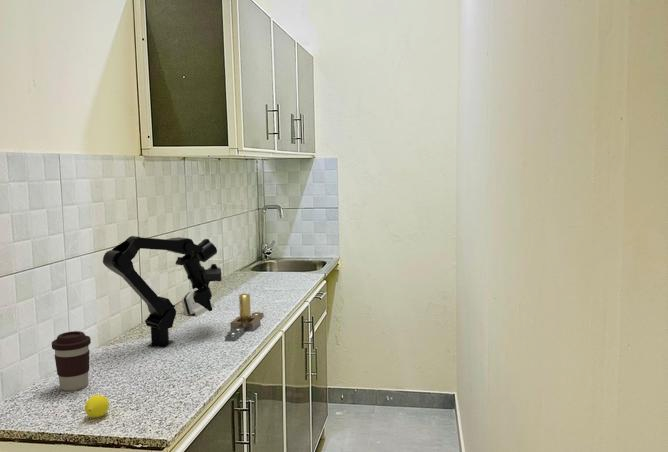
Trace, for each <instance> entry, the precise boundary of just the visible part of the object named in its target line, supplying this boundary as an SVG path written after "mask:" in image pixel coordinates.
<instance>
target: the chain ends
mask: <svg viewBox="0 0 668 452" xmlns="http://www.w3.org/2000/svg"><path fill="white" fill-rule="evenodd" d="M264 314H265V313H264V312H261V311H258V312H257V311H256V312H255V311H254V312H252V313H251V322H240V316H237V317H236V318H234V319H233V320H231V322H230V330H229V331H228V332H227V333H226V335H225V336H224V341H225V342H226V341H229V342H235V341H237V340H238V339H240V337H241V336H243V335H244V334H245V333H246V332H255V331H256V330H257V329H258V328H259V327H260V326H261V320H262V319H263V318H264Z"/></svg>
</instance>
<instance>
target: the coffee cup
mask: <svg viewBox="0 0 668 452" xmlns="http://www.w3.org/2000/svg"><path fill="white" fill-rule="evenodd" d="M91 341H92V340H91V337H90V336H89V335H86V334H85V332H84V331H78V330H75V331H66V332H63V333H61V334H60V333H59V334H58V335H57V337H56V339H54V340H52V341H51V349H52V350H54V353H55V354H54V360H55V361H54V362H55V367H56V373H57V376H58V382H59V387H60V388H59V389H61V390H62V391H66V392H72V391H78V390H81V389H83V388H85V387H87V386H88V384H89V371H90V349H89V347H90V345H91V343H92V342H91Z"/></svg>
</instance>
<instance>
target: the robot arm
mask: <svg viewBox="0 0 668 452" xmlns="http://www.w3.org/2000/svg"><path fill="white" fill-rule="evenodd" d="M141 249H145V250H157V251H167V252H171V253H175V254H178V255H182V256H177V259H176V261H175V265H178V266H182V267H183V268H184V271H185V273H186V274H187V276H186V277H187V279H188V280H189V282H190V283H191V287H192V288H191V289H192V290H196V289H198V290H196V291H194V293H193V299H194V301H195V303H199V304H200V305H202V306H203V307H204V308H206V309H207V312H212V311H213V308H212V306H211V302H212V301H211V299H212V297H213V292H212V290H211V288H210V286H209V285H210V283H211V282H219V283H220V282H221V281H222V269H221V267H218V266H217V264H216V263H212V264H210V267H208V268H207V269H205V267H204V266H203V265H202V264H201V262H202V263H206V262H207V261H209V260H210V259H211V258H212V257H214V256H215V255H217V253H218V249H217V246H215V244H214V243H213V242H212V241H210V239H209V238H204V239H203V240H202V241H200V242H199V243H198V244H196V243H194V241H193V239H192V238H188V237H179V236H177V237H171V238H170V237H169V238H153V237H152V238H151V237H141V236H137V235H130V236H129V237H128V238H126V239H125V240H124V241H123V242H120V243H119V244H118V245H116V246H114V247H113V248H112V249H111V250H108V251H106V252H105V253H104V255H103V257H102V263H103V265H104V266H105V267H106V268H107V269H109V270H110V271H111V272H113V273H114V274H116V275H118V276H120V277H121V278H123V280H124V282H126V283H127V284H128V286H130V287H131V289H133V291H134V292H135V293H136V294H137V295H138V296H139V298H141V299H142V301H143V302H144V303H145V304H146V306H147V309H148V312H149V315H148V316H147V317H146V319H145V321H144V322H145V325H146V327H150V340H151V342H150V343H148V344H147V348H148V347H151V348H166V347H167V346H169V345H171V344H172V343H174V340H173V339H172V340H171V339H170V335H169V329H171V328H173V325H174V321H175V319H176V316H177V310H176V305H174V304H173V303H172V302H171V300H170V299H169V298H167V297H163V296H158V294H157V293H156V292H155V291H154V290H153V289H152V288H151V287H150V285H148V283H147V282H146V281H145V280H144V279H143V278H142V276H140V274H139V273H138V272H137V271H136V270H135V267H134V263H133V261H132V260H133V259H135V257H136V256H137V254H138V252H139V250H141ZM210 301H211V302H210Z"/></svg>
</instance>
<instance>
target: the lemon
mask: <svg viewBox="0 0 668 452" xmlns="http://www.w3.org/2000/svg"><path fill="white" fill-rule="evenodd" d="M109 407H110V402H109V400H108V398H107V397H106V396H104V395H101V394H95V395H92V396H91V397H89V398H88V399H87V401H86V402H85V405H84V411H85V414H86V415H87V416H88V417H90V418H94V419H97V418H101V417H103V416H104V415H106V413H107V412H108V411H109Z"/></svg>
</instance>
